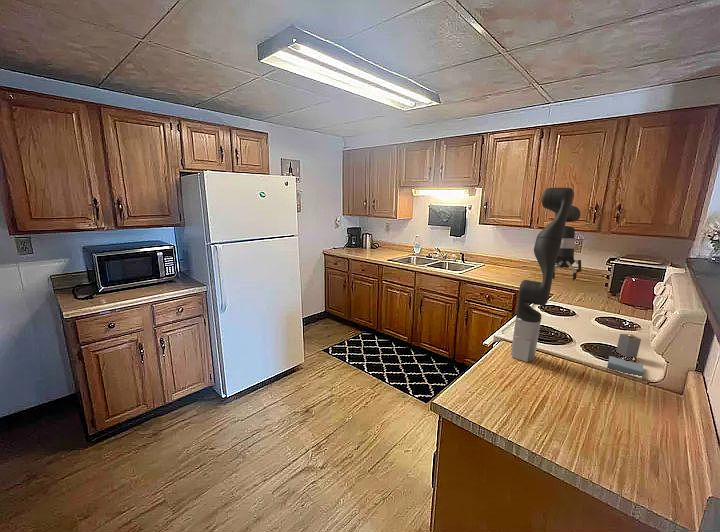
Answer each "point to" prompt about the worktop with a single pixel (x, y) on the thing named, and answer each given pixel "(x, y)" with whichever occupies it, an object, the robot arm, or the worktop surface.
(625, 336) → the block
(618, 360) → the coupler plate
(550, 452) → the worktop surface
